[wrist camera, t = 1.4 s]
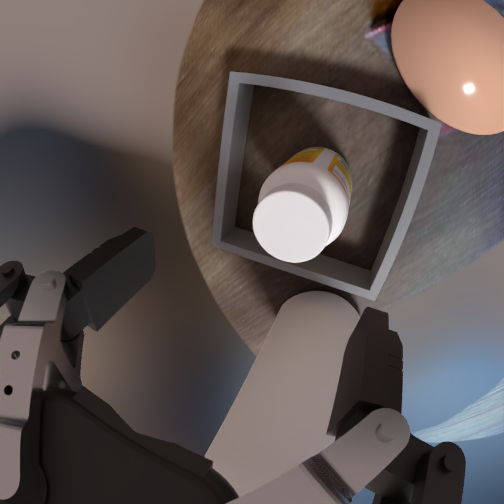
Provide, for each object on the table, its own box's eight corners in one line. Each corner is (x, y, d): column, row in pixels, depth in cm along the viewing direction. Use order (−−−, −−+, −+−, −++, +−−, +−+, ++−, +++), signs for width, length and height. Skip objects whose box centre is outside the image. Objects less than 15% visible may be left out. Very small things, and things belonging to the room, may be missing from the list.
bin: (431, 120, 16) (441, 123, 14) (375, 280, 24) (374, 301, 22) (246, 74, 20) (230, 71, 17) (226, 231, 28) (211, 246, 25)
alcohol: (356, 280, 25) (219, 653, 1) (367, 347, 28) (276, 630, 4) (269, 290, 29) (91, 574, 5) (292, 350, 33) (172, 590, 8)
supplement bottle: (277, 194, 24) (228, 247, 16) (299, 135, 21) (256, 158, 13) (336, 221, 23) (316, 291, 16) (364, 164, 20) (362, 207, 12)
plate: (529, 32, 8) (534, 31, 7) (511, 158, 15) (515, 160, 14) (397, -31, 11) (398, -35, 10) (378, 99, 17) (379, 98, 17)
